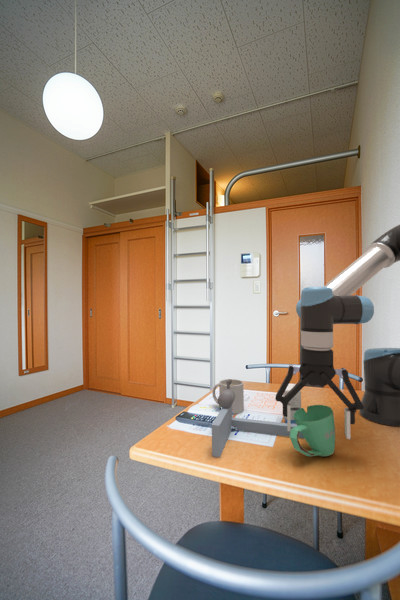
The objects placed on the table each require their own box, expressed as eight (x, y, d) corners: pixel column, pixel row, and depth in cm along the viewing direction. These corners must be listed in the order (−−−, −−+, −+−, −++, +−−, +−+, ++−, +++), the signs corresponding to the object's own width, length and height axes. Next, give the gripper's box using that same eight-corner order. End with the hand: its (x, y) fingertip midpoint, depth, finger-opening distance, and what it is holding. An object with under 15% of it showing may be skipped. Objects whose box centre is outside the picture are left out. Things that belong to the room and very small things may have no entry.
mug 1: (248, 411, 99) (248, 383, 99) (225, 416, 96) (224, 387, 96) (233, 402, 109) (233, 376, 109) (211, 405, 106) (211, 379, 106)
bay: (325, 435, 81) (324, 385, 81) (337, 475, 62) (335, 410, 62) (224, 423, 90) (223, 378, 90) (207, 455, 71) (206, 398, 71)
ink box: (302, 429, 85) (301, 391, 85) (285, 428, 86) (285, 390, 86) (298, 418, 93) (297, 383, 93) (283, 417, 94) (282, 382, 94)
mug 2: (317, 438, 78) (306, 403, 78) (352, 445, 70) (339, 406, 70) (286, 466, 69) (274, 426, 70) (321, 478, 61) (307, 433, 62)
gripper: (368, 348, 70) (369, 433, 69) (267, 343, 77) (267, 420, 77) (378, 353, 62) (379, 447, 62) (265, 347, 70) (265, 432, 69)
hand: (317, 432), depth 69 cm, fingers open, 13 cm apart
